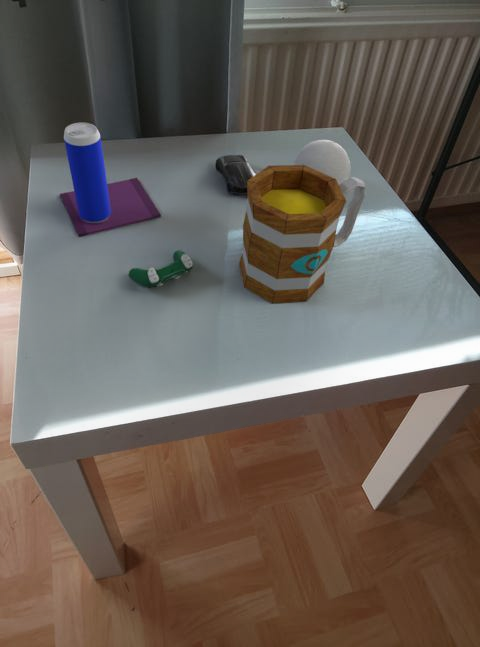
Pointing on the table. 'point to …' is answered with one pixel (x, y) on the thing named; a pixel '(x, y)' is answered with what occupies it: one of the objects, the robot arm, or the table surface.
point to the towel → (115, 207)
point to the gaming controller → (162, 271)
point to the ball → (325, 159)
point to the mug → (293, 230)
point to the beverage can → (87, 171)
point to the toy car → (235, 172)
